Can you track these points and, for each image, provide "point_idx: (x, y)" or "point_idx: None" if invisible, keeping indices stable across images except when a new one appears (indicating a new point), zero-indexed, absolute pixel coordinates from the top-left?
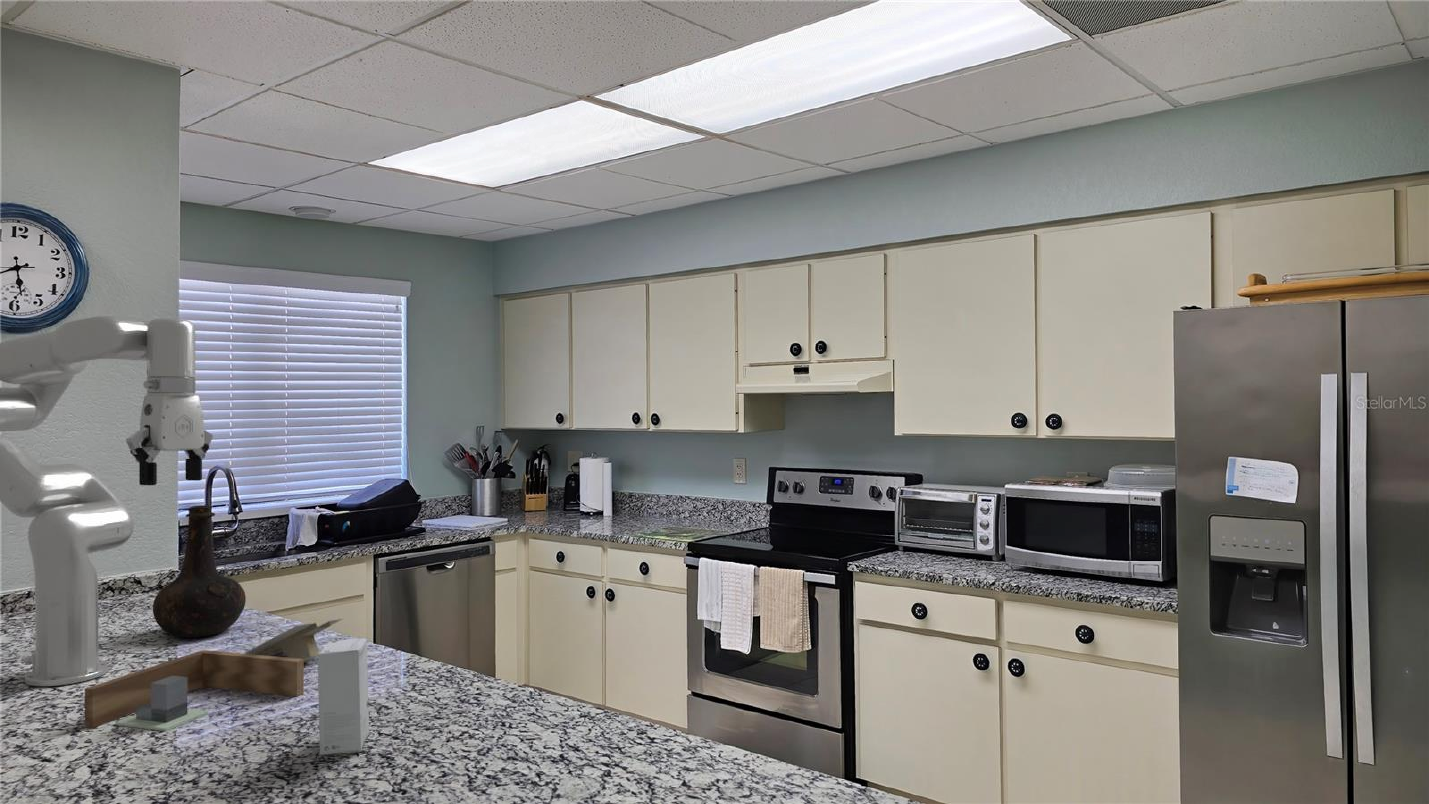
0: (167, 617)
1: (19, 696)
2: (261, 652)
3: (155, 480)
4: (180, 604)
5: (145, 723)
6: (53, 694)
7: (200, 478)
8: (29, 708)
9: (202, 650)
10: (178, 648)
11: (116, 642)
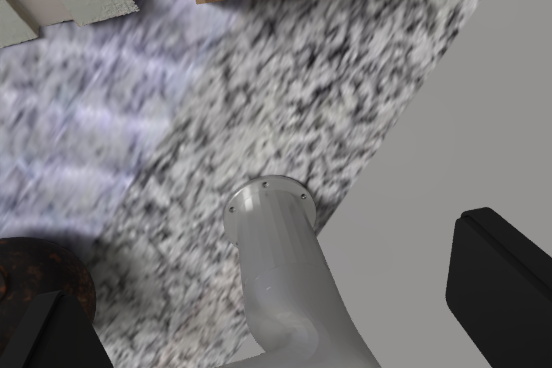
0: (90, 285)
1: (344, 185)
2: (60, 1)
3: (492, 222)
4: (68, 287)
5: None
6: (325, 158)
7: (48, 297)
8: (373, 127)
9: (199, 1)
10: (104, 223)
11: (141, 313)
